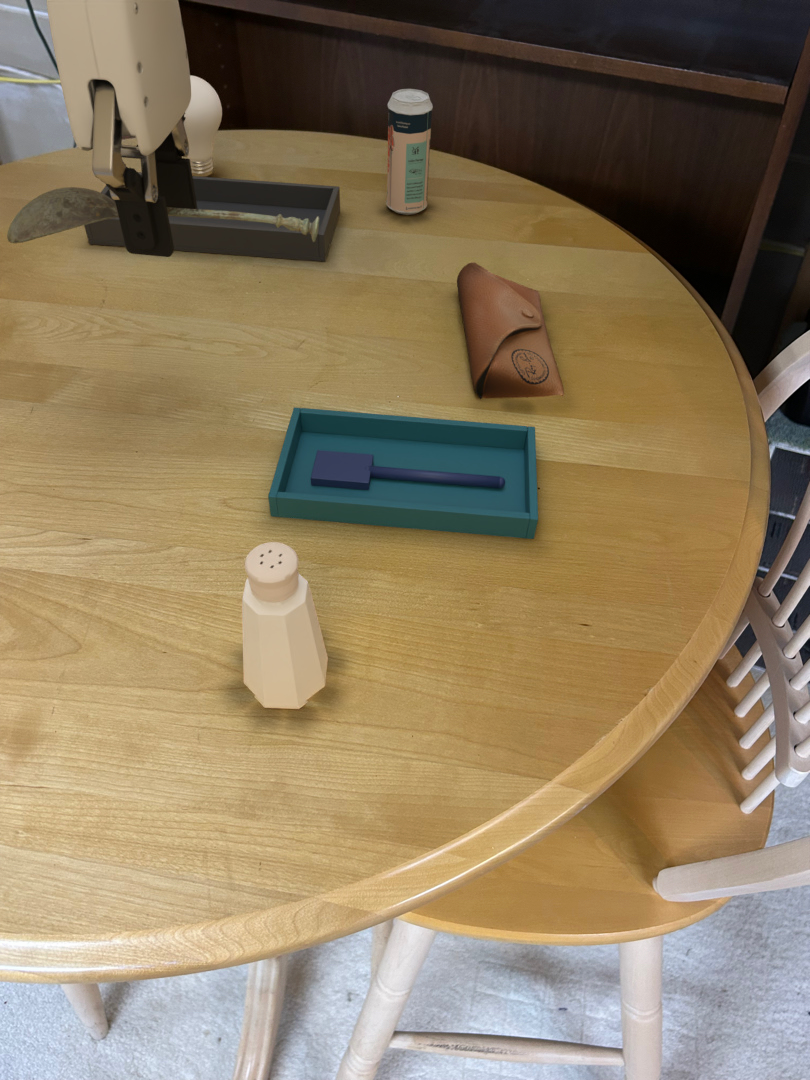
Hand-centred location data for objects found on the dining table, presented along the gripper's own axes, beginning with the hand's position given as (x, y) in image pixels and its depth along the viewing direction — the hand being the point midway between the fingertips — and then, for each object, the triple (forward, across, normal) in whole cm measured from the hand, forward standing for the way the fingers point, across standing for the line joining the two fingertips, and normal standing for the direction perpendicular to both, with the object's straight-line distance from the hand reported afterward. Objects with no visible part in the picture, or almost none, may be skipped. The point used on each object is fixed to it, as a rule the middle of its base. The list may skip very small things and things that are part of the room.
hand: (163, 230), depth 57 cm
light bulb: (+15, -42, -11) cm, 46 cm away
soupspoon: (+1, 0, 0) cm, 1 cm away
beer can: (+15, -38, +14) cm, 43 cm away
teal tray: (+15, +8, +19) cm, 25 cm away
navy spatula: (+14, +8, +19) cm, 25 cm away
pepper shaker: (+15, +26, +13) cm, 33 cm away
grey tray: (+15, -30, -6) cm, 34 cm away
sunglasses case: (+15, -12, +26) cm, 33 cm away
